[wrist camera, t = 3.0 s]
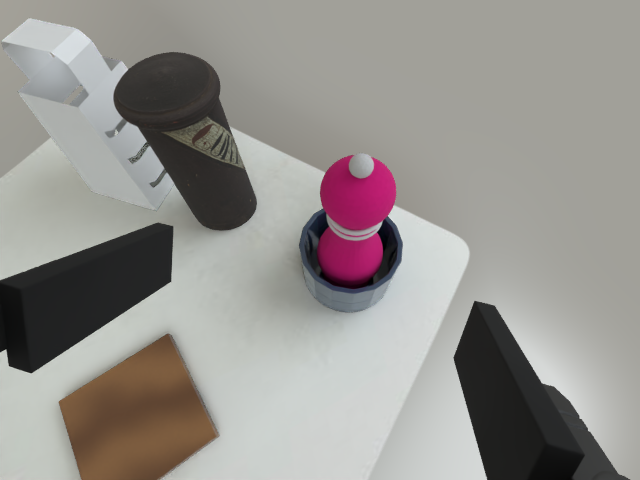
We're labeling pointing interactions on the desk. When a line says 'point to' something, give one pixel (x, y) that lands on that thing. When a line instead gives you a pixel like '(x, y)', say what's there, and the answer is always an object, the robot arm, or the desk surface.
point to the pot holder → (138, 417)
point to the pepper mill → (354, 219)
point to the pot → (348, 297)
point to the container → (189, 135)
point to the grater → (85, 111)
